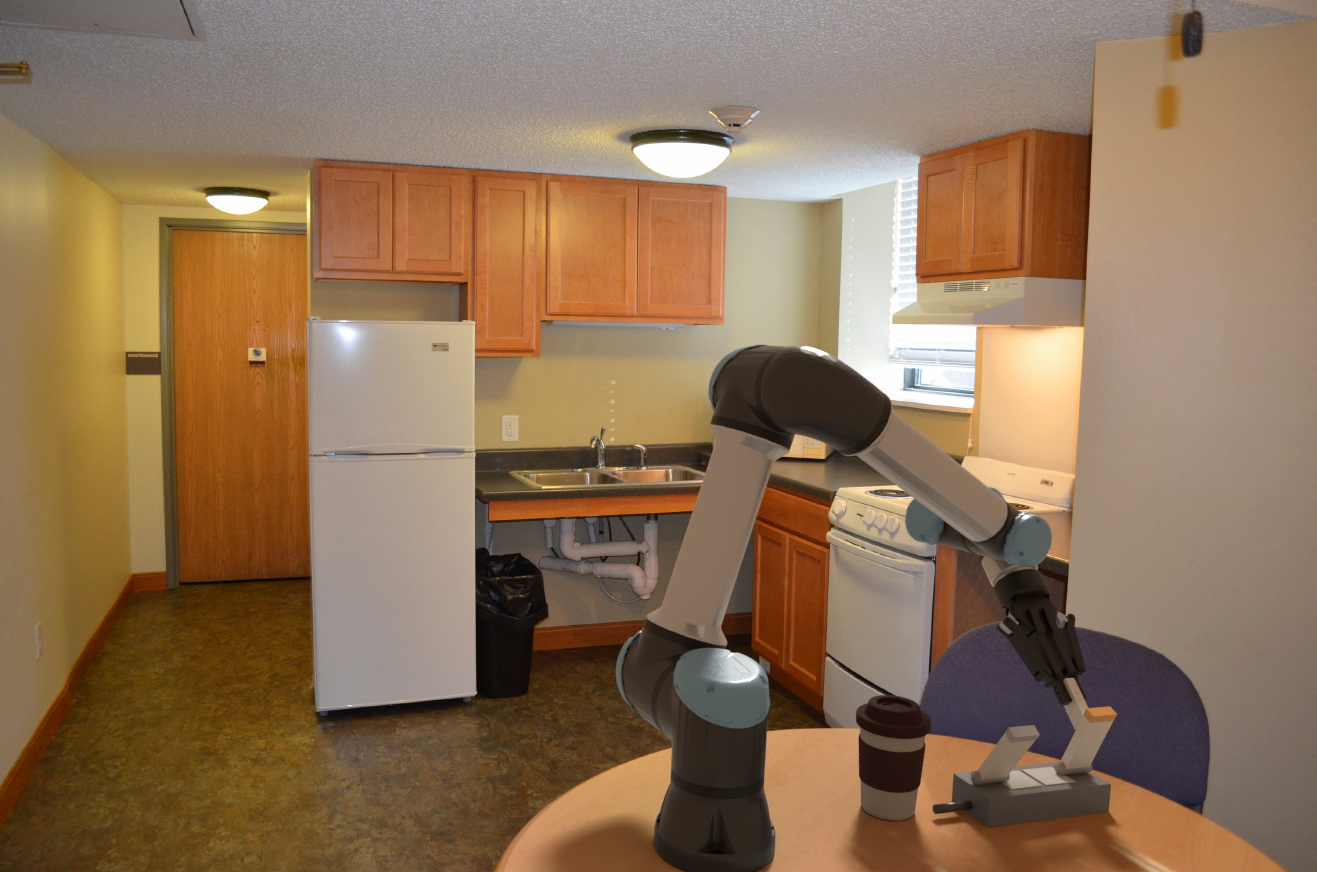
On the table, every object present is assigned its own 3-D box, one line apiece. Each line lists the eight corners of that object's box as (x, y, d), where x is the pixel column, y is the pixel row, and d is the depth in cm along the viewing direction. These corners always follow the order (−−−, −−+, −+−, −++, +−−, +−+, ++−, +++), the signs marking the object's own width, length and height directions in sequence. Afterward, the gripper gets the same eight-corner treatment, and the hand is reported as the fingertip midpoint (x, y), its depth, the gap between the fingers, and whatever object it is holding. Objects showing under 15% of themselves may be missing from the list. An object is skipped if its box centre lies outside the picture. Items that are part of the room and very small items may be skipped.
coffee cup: (927, 831, 127) (934, 720, 126) (850, 821, 129) (857, 711, 128) (922, 798, 137) (929, 694, 136) (850, 789, 139) (857, 687, 138)
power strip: (951, 831, 127) (954, 801, 127) (917, 804, 135) (919, 775, 134) (1108, 811, 135) (1111, 782, 135) (1068, 786, 143) (1070, 759, 142)
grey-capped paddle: (974, 787, 132) (1011, 738, 125) (968, 775, 134) (1004, 726, 127) (1005, 783, 134) (1043, 735, 127) (999, 772, 135) (1036, 723, 128)
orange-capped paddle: (1060, 777, 136) (1091, 717, 131) (1052, 768, 138) (1082, 707, 133) (1089, 774, 138) (1120, 714, 133) (1081, 764, 139) (1112, 705, 134)
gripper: (992, 567, 145) (1061, 718, 131) (1064, 564, 149) (1138, 710, 135) (968, 592, 150) (1031, 739, 136) (1037, 589, 154) (1105, 732, 140)
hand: (1084, 725), depth 136 cm, fingers closed
